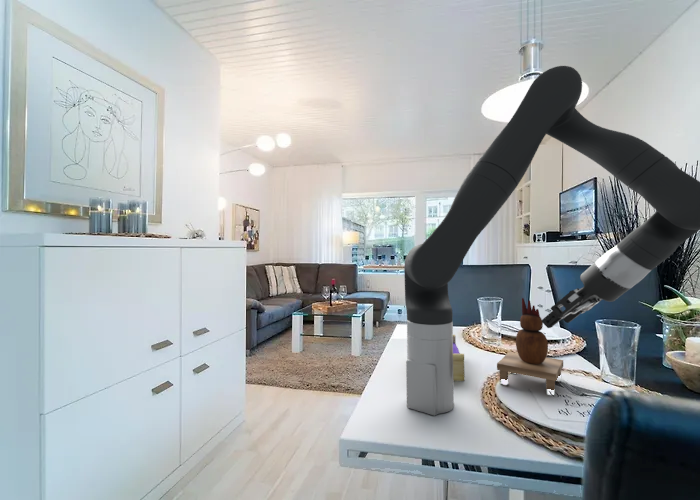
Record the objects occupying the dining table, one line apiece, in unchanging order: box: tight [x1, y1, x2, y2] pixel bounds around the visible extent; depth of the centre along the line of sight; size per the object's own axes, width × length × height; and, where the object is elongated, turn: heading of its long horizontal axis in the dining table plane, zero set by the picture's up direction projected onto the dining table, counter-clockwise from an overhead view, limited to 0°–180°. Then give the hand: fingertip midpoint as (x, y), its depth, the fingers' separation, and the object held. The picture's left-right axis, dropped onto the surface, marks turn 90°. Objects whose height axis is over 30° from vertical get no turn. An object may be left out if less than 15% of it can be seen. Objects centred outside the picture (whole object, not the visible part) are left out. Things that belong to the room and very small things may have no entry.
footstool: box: [496, 351, 564, 390], centre depth 82 cm, size 12×12×5 cm
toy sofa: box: [453, 334, 465, 382], centre depth 94 cm, size 21×9×10 cm, turn 169°
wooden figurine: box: [515, 297, 549, 364], centre depth 82 cm, size 7×6×15 cm
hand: (555, 322), depth 77 cm, fingers open, 8 cm apart
